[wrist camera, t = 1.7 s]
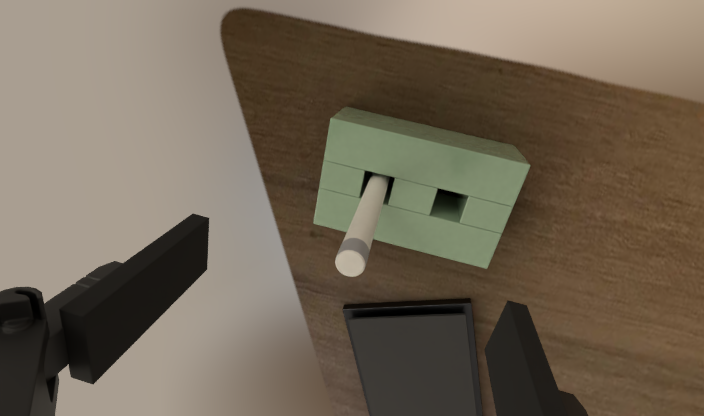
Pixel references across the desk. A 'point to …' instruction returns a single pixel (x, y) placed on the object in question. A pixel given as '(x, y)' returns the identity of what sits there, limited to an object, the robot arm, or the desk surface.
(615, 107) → the desk surface
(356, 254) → the stylus
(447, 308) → the tablet
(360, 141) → the pen stand
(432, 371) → the screen
